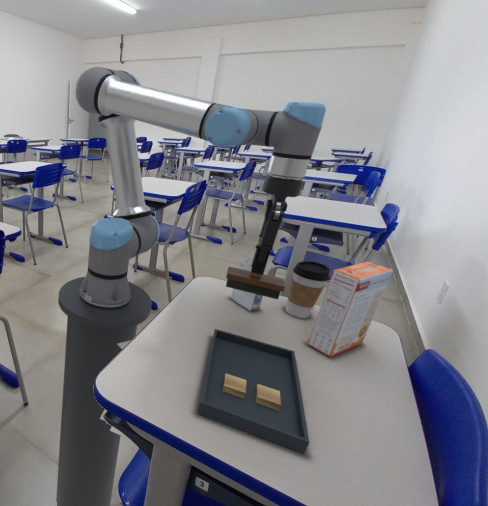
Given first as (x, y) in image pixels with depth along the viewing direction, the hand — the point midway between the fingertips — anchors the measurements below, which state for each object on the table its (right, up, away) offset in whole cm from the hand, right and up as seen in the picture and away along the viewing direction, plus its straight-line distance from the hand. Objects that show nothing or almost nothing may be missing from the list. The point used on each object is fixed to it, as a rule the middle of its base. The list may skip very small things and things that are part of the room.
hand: (257, 270), depth 89 cm
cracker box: (+19, -19, 0) cm, 27 cm away
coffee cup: (+19, -13, +14) cm, 27 cm away
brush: (0, -5, +2) cm, 6 cm away
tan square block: (-14, -23, -17) cm, 32 cm away
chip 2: (-9, -24, -20) cm, 32 cm away
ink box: (+5, -11, +17) cm, 21 cm away
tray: (-10, -23, -15) cm, 29 cm away
